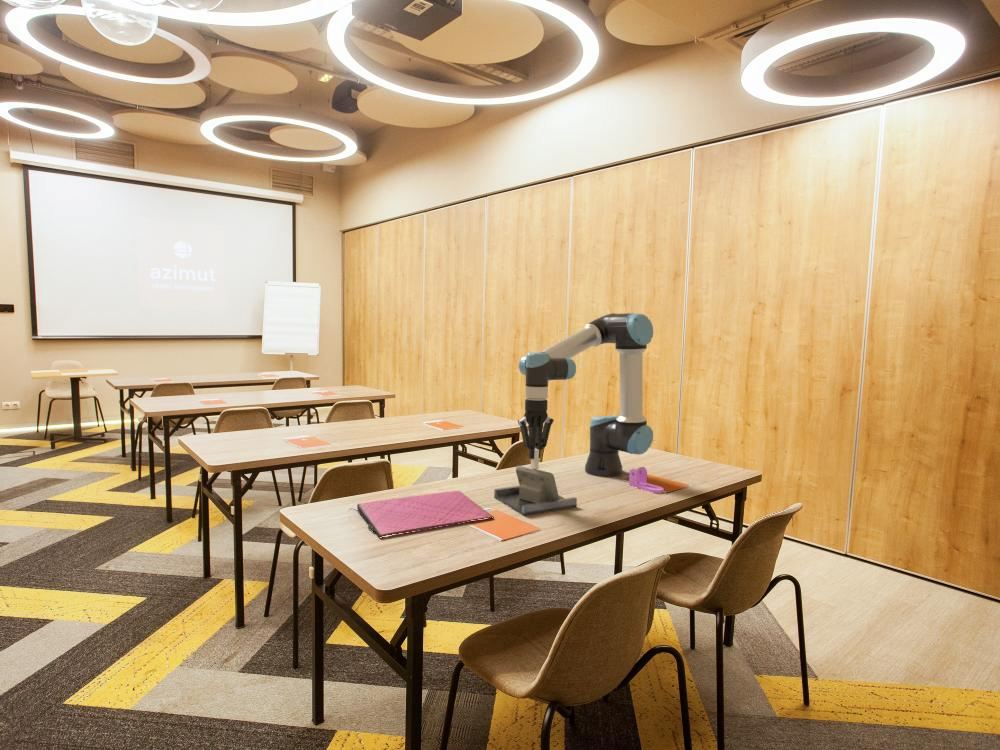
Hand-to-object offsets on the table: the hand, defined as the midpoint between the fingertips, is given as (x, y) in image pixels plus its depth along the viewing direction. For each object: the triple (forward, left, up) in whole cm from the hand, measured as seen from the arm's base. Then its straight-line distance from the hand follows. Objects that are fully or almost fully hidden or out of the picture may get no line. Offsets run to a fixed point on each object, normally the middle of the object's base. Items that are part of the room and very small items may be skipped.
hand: (534, 468), depth 190 cm
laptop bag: (+40, -4, -13) cm, 42 cm away
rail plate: (0, 0, -12) cm, 12 cm away
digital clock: (-1, 0, -11) cm, 11 cm away
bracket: (-46, +4, -12) cm, 48 cm away
